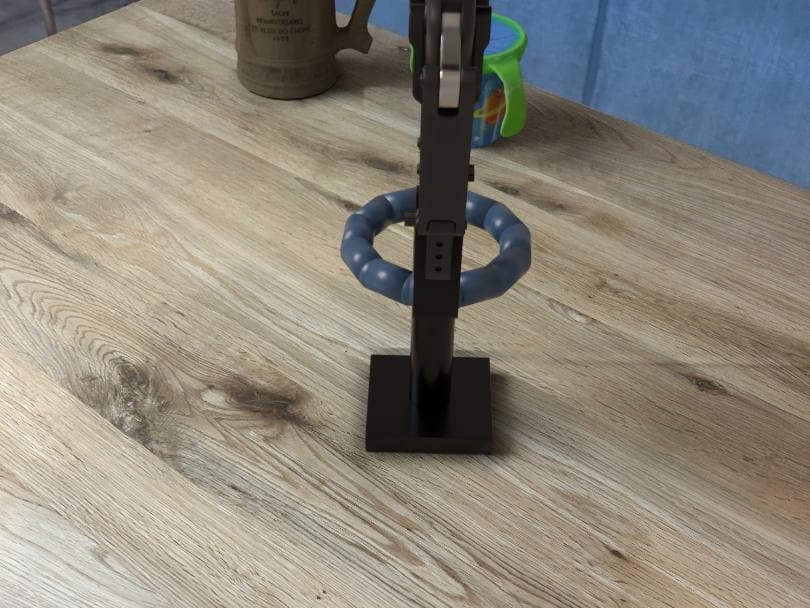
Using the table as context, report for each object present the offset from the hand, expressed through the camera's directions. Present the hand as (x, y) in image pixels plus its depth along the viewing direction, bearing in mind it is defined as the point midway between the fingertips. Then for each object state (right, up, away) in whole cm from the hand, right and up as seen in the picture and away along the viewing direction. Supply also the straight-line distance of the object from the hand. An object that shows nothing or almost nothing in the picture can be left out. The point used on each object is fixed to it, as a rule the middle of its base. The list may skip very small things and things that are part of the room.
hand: (435, 298), depth 64 cm
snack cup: (+4, +25, +40) cm, 47 cm away
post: (0, -5, +14) cm, 14 cm away
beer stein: (-12, +34, +48) cm, 60 cm away
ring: (0, +4, +3) cm, 5 cm away
